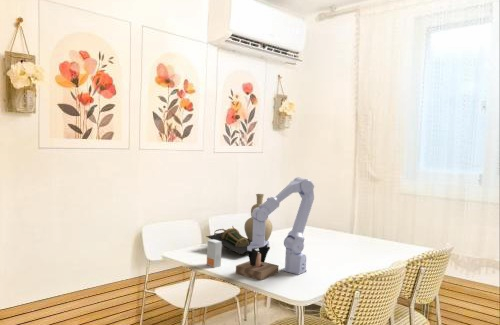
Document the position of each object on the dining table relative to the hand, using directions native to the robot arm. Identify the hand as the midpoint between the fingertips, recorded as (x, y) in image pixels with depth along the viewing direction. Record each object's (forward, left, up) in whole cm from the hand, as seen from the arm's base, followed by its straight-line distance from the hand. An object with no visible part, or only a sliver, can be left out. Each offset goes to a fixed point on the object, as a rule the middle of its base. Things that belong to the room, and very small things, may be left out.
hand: (257, 263), depth 181 cm
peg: (0, 0, -4) cm, 4 cm away
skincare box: (+22, +5, -5) cm, 23 cm away
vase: (+31, -45, -5) cm, 55 cm away
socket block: (0, 0, -4) cm, 4 cm away
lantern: (+34, -23, -5) cm, 41 cm away
